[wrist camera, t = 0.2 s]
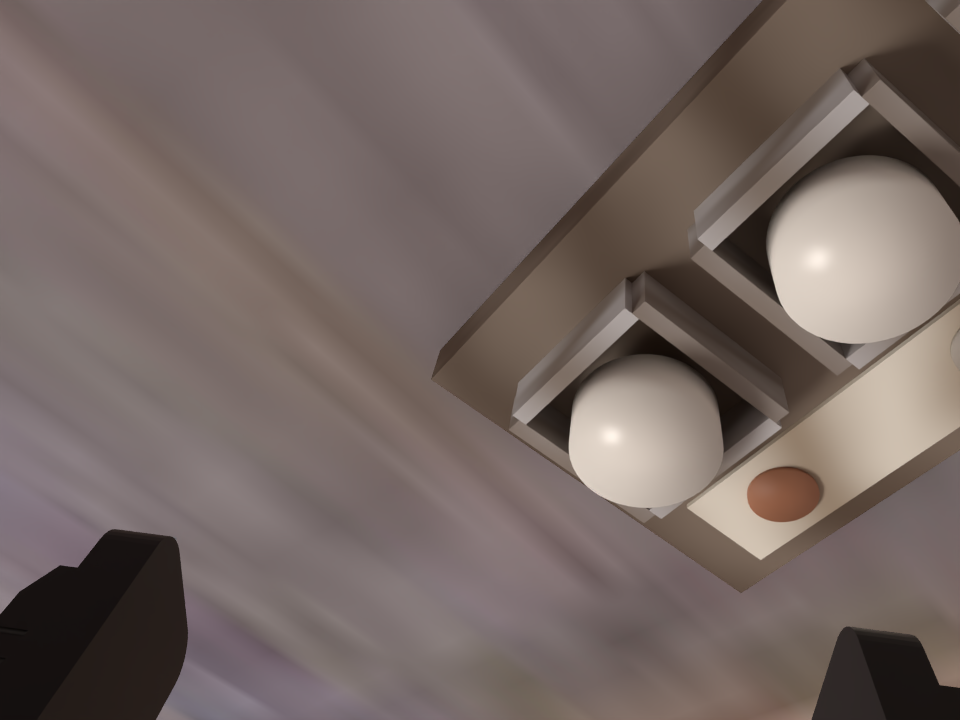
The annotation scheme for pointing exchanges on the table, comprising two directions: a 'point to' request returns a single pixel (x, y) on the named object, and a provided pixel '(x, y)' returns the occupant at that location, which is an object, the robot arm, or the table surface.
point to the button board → (744, 283)
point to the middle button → (863, 250)
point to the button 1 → (645, 431)
